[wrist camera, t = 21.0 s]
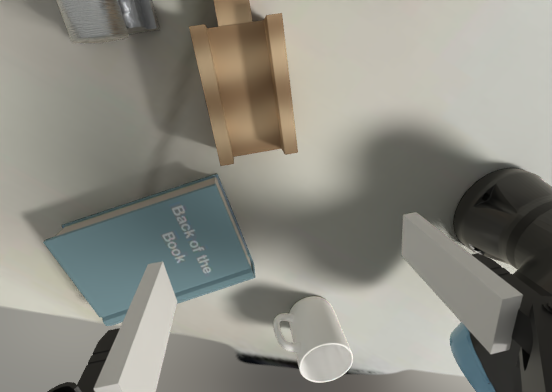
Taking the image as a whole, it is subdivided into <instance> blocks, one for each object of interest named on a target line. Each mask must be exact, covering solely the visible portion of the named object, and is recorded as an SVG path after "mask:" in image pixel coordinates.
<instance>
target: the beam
mask: <svg viewBox="0 0 552 392" xmlns="http://www.w3.org/2000/svg"><path fill="white" fill-rule="evenodd" d="M214 6H215V11H216V16H217V21H218V26H219V27H213V28H207V27H206V26H205V24H203V25H196V26H189V29H190V34H191V38H192V42H193V47H194V51H195V56H196V60H197V64H198V69H199V73H200V78H201V82H202V86H203V91H204V95H205V100H206V104H207V108H208V113H209V117H210V121H211V126H212V130H213V135H214V139H215V143H216V148H217V152H218V157H219V161H220V165H221V166H224V165H229V164H234V157H235V156H241V155H247V154H252V153H258V152H264V151H269V150H275V149H282V150H283V152H284V154H285V155H286V154H292V153H297V152H298V149H297V140H296V132H295V123H294V114H293V106H292V97H291V88H290V80H289V71H288V62H287V54H286V45H285V36H284V28H283V19H282V13H279V14H272V15H267V16H266V17H265V19H264V20H261V21H254V22H252V16H251V9H250V3H249V0H214Z"/></svg>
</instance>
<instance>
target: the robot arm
mask: <svg viewBox="0 0 552 392" xmlns="http://www.w3.org/2000/svg"><path fill="white" fill-rule="evenodd" d="M454 230H455V233H456V236H457V238H458V239H459V240H460V242H461V243H463V244H464V245H465V246H466V247H468V248H469V249H470V250H472V251H473V252H475V253H477V254H472V255H471V254H470V253H468V252H467V251H466V250H465V249H463V248H462V247H461V246H459V245H458V244H457V243H455V242H454V241H453V240H452V239H450V238H449V237H448V236H446V235H445V234H444V233H443V232H441V231H440V230H439V229H437V228H436V227H435V226H434V225H432V224H431V223H430V222H428V221H427V220H426V219H425V218H423V217H422V216H421V215H419V214H418V213H417V212H414V213H409V214H404V215H403V227H402V257H403V258H404V259H405V260H406V261H407V263H408V264H409V265H410V266H411V267H412V268H413V269H414V270H415V271H416V272H417V274H418V275H419V276H420V277H421V278H422V279H423V280H424V281H425V282H426V283H427V285H428V286H429V287H430V288H431V289H432V290H433V291H434V292H435V293H436V295H437V296H438V297H439V298H440V299H441V300H442V301H443V302H444V303H445V304H446V306H447V307H448V308H449V309H450V310H451V311H452V312H453V313H454V314H455V315H456V317H457V318H458V319H459V320H460V321H461V323H460V324H459V325H458V326H457V327H456V328H455V329H454V331H453V332H452V333H451V336H450V346H451V350H452V353H453V356H454V358H455V360H456V362H457V364H458V365H459V367H460V369H461V371H462V372H463V374H464V375H465V377H466V378H467V379H468V381H469V383H470V384H471V385H472V387H473V388H474V389H475V391H476V392H552V187H551V186H550V185H549V184H547V183H546V182H545V181H544V180H543V179H542V178H541V177H539V176H538V175H536V174H533V173H530V172H528V171H525V170H522V169H517V168H506V169H501V170H497V171H495V172H492V173H490V174H488V175H486V176H485V177H483V178H481V179H480V180H479V181H477V182H476V183H475V184H474V185H473V186H472V187H471V188H470V189H469V190H468V191H467V192H466V193H465V195H464V196H463V198H462V199H461V201H460V203H459V205H458V207H457V210H456V213H455V217H454ZM488 257H489V258H488ZM490 258H492V259H495V260H498V261H501V262H504V263H507V264H510V265H512V266H513V267H515V268H516V269H518V270H517V271H516V272H515V273H514V274H513V275H512V274H510V272H508V271H507V270H506V269H504V268H502V267H501V266H500V265H499V264H497V263H496V262H495V261H493V260H492V259H490ZM176 305H177V299H176V297H175V294H174V291H173V288H172V285H171V283H170V280H169V277H168V274H167V272H166V269H165V266H164V263H163V261H162V262H157V263H152V264H148V265H147V268H146V270H145V272H144V274H143V277H142V279H141V281H140V284H139V286H138V288H137V290H136V293H135V295H134V297H133V300H132V302H131V304H130V306H129V309H128V311H127V313H126V316H125V318H124V320H123V322H122V325H121V327H120V328H119V329H114V330H109V331H108V332H107V333H106V334H105V335H104V336H103V337H102V338H101V339H100V341H99V342H98V344H97V346H96V348H95V350H94V352H93V355H92V356H91V358H90V360H89V362H88V365H87V366H86V368H85V370H84V372H83V374H82V376H81V378H80V380H79V382H78V384H77V385H76V384H75V383H71V382H66V383H63V384H60V385H58V386H56V387H54V388H52V389H51V390H49V391H48V392H156V388H157V384H158V380H159V376H160V371H161V367H162V363H163V359H164V355H165V351H166V347H167V342H168V338H169V334H170V330H171V326H172V322H173V317H174V313H175V309H176Z"/></svg>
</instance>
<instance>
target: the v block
mask: <svg viewBox="0 0 552 392" xmlns="http://www.w3.org/2000/svg"><path fill="white" fill-rule="evenodd" d="M118 2H119V5H120V8H121V12H122V15H123V18H124V22H125V25H126V28H127V31H128V34H135V33H142V32H149V31H156V30H160V29H159V25H158V21H157V17H156V13H155V10H154V6H153V2H152V0H118Z"/></svg>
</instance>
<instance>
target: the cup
mask: <svg viewBox="0 0 552 392" xmlns="http://www.w3.org/2000/svg"><path fill="white" fill-rule="evenodd" d="M281 321H288V322H289V325H290V330H291V334H292V339H293V343H291V342H288V341H287V340H286V339H285V338H284V337H283V335H282V332H281V329H280V322H281ZM273 328H274V333H275V336H276V339H277V341H278V343H279V344H280V345H281V347H283V348H284V349H285V350H287V351H290V352H296V357H297V361H298V366H299V370H300V373H301V374H302V376H303V377H304V378H306V379H307V380H310V381H312V382H328V381H332V380H335V379H337V378H339V377H340V376H342V375H343V374H345V373H346V372H347V371H348V370H349V368H350V367H351V365H352V362H353V354H352V352H351V349H350V347H349V344H348V342H347V340H346V337H345V335H344V333H343V330H342V328H341V325H340V323H339V321H338V318H337V316H336V313H335V311H334V309H333V307H332V305H331V304H330V303H329V302H328V301H327V300H326V299H324V298H321V297H317V296H311V297H306V298H303V299H301V300H299V301H298V302H297V303H295V304H294V306H293V307H292V308H291V310H290V313H281V314H279V315H277V316H276V317H275V319H274V322H273Z"/></svg>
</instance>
